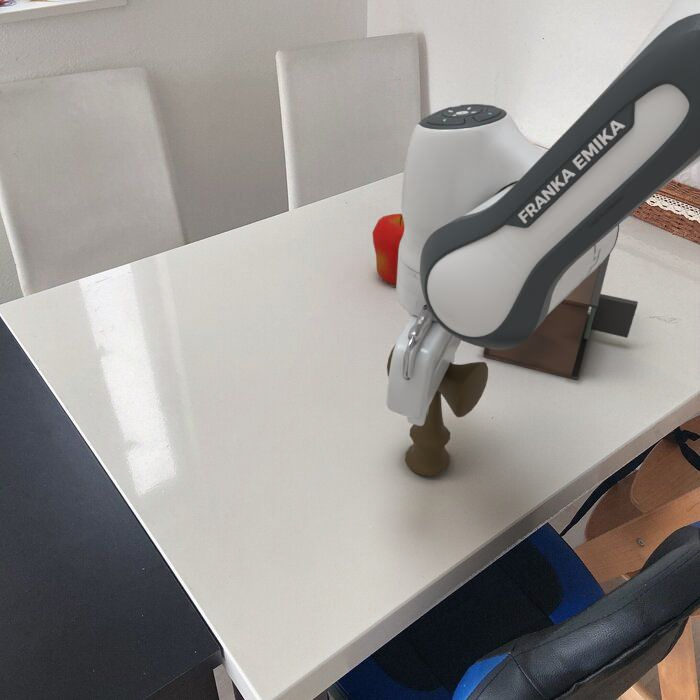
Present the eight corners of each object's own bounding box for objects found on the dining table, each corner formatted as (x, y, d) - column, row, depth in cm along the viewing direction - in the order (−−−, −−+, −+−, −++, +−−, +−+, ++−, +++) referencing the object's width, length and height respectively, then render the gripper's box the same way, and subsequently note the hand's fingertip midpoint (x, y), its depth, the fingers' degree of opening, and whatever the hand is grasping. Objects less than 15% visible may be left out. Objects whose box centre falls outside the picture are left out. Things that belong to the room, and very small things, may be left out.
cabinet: (593, 317, 102) (612, 246, 95) (577, 380, 91) (597, 305, 83) (508, 298, 106) (520, 229, 99) (482, 356, 95) (493, 283, 87)
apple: (427, 267, 114) (432, 202, 107) (421, 294, 107) (426, 227, 100) (376, 262, 115) (378, 197, 108) (367, 288, 109) (368, 221, 101)
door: (630, 316, 101) (649, 254, 95) (624, 348, 95) (644, 283, 89) (591, 308, 103) (607, 246, 97) (583, 338, 97) (600, 275, 90)
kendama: (447, 499, 75) (467, 357, 63) (378, 457, 80) (383, 318, 67) (476, 467, 79) (499, 327, 66) (408, 430, 83) (418, 293, 71)
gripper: (443, 352, 55) (430, 468, 64) (501, 240, 70) (483, 346, 79) (371, 333, 57) (367, 448, 66) (442, 228, 72) (431, 333, 81)
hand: (431, 391), depth 72 cm, fingers open, 8 cm apart
